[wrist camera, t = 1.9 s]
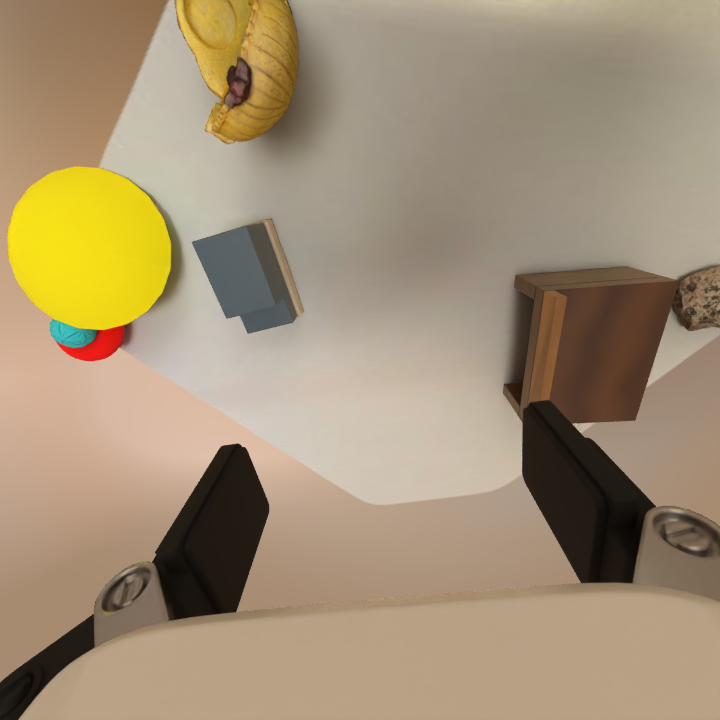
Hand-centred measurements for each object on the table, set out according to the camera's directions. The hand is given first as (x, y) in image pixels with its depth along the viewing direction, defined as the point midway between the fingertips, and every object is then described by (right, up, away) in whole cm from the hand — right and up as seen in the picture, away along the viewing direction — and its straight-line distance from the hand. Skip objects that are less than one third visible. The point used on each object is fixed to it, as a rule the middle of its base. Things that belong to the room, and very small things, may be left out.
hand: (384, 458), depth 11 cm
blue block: (-10, +12, +22) cm, 27 cm away
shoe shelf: (+19, +6, +23) cm, 31 cm away
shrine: (-8, +25, +15) cm, 31 cm away
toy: (-26, +12, +24) cm, 37 cm away
